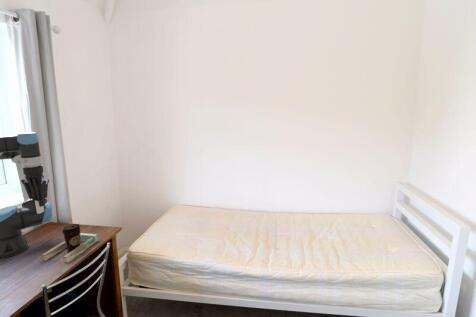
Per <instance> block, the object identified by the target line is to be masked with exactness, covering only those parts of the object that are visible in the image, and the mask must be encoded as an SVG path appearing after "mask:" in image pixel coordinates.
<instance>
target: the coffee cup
mask: <svg viewBox="0 0 476 317" xmlns="http://www.w3.org/2000/svg"><path fill="white" fill-rule="evenodd" d="M61 233H62V234H63V238H64V241H65V243H66V246H67V247H66V249H67V252H68V253H70V252H71V251H73V250H74V249H76V248H77V247H78V246H80V245H81V242H82V241H81V239H80V233H81V227H80V224H78V223H72V224H68V225H65V226H64V227H63V229H62V231H61Z"/></svg>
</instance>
